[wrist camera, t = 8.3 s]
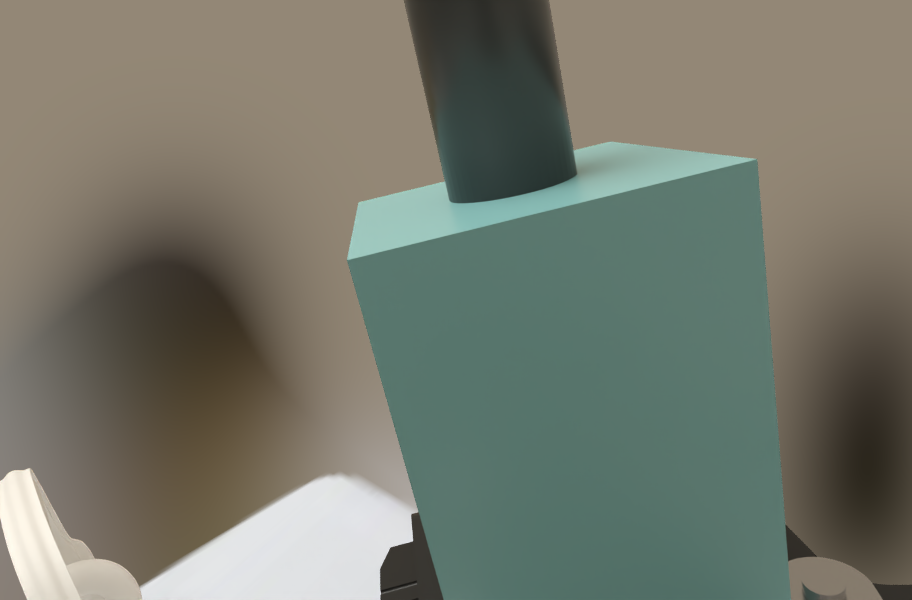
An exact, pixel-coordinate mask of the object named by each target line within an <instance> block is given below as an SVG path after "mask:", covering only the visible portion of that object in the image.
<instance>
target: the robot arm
mask: <svg viewBox="0 0 912 600" xmlns="http://www.w3.org/2000/svg"><path fill="white" fill-rule="evenodd" d="M411 519H412V530H413V542H409V543H406V544H402V545H398V546H395V547H391V548H390V550H389V552H388V554H387V556H386V558H385V560H384V562H383V564H382V566H381V569H380V590H381V600H444V599H443V596H442V592H441V589H440V585H439V582H438V578H437V575H436V571H435V568H434V564H433V561H432V557H431V554H430V550H429V547H428V543H427V539H426V536H425V532H424V529H423V525H422V522H421V518H420V515H419V512H418V513H414V514H412V515H411ZM785 527H786V540H787V553H788V566H789V579H790V592H791V600H912V585H881V584H874V583H871V581H870V580H869V579H868V578H867V577H866V576H864V575H863V574H862V573H861V572H859V571H858V570H856V569H854V568H853V567H851V566H849V565H847V564H844V563H842V562H839V561H836V560H832V559H827V558H822V557H817V556H816V555H815V554H814V553H813V552H812V551H811V550H810V549H809V548H808V547H807V546H806V545H805V544H804V543H803V542H802V541H801V540H800V539H799V538H798V537H797V536H796V535H795V534H794V533H793V532H792V531H791V530H790V529H789V528H788V527H787V526H786V525H785Z"/></svg>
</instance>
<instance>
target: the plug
mask: <svg viewBox="0 0 912 600" xmlns="http://www.w3.org/2000/svg"><path fill="white" fill-rule="evenodd" d="M404 3H405V7H406V12H407V16H408V21H409V25H410V29H411V34H412V38H413V43H414V47H415V52H416V56H417V60H418V65H419V69H420V74H421V78H422V82H423V87H424V91H425V96H426V100H427V104H428V108H429V113H430V118H431V122H432V127H433V131H434V135H435V140H436V144H437V148H438V153H439V157H440V162H441V166H442V171H443V175H444V179H445V182H441V183H437V184H433V185H429V186H425V187H421V188H416V189H412V190H408V191H404V192H400V193H396V194H392V195H387V196H384V197H380V198H376V199H371V200H367V201H363V202H359V204H358V208H357V213H356V218H355V223H354V228H353V234H352V239H351V243H350V248H349V253H348V258H347V261H348V265H349V269H350V272H351V276H352V279H353V283H354V286H355V290H356V293H357V297H358V300H359V304H360V307H361V311H362V314H363V318H364V321H365V325H366V329H367V332H368V336H369V339H370V343H371V346H372V350H373V353H374V357H375V360H376V364H377V367H378V371H379V374H380V378H381V381H382V385H383V388H384V392H385V395H386V399H387V402H388V406H389V409H390V413H391V416H392V420H393V423H394V427H395V430H396V434H397V437H398V441H399V444H400V447H401V451H402V455H403V459H404V462H405V466H406V469H407V473H408V476H409V479H410V483H411V487H412V490H413V494H414V497H415V501H416V504H417V508H418V511H419V515H420V518H421V522H422V525H423V529H424V532H425V536H426V539H427V543H428V547H429V550H430V554H431V557H432V561H433V564H434V568H435V571H436V575H437V578H438V582H439V585H440V589H441V592H442V596H443V599H444V600H791V592H790V579H789V566H788V553H787V540H786V527H785V515H784V501H783V490H782V489H783V488H782V476H781V462H780V451H779V450H780V449H779V436H778V424H777V411H776V397H775V384H774V372H773V358H772V345H771V333H770V320H769V307H768V294H767V280H766V267H765V255H764V243H763V242H764V241H763V229H762V216H761V202H760V191H759V176H758V163H757V159H751V158H742V157H733V156H726V155H718V154H709V153H701V152H693V151H684V150H676V149H668V148H659V147H650V146H643V145H634V144H625V143H617V142H607V143H603V144H599V145H594V146H590V147H586V148H582V149H578V150H573V144H572V138H571V132H570V126H569V120H568V114H567V108H566V101H565V95H564V89H563V83H562V78H561V71H560V64H559V58H558V52H557V46H556V40H555V34H554V28H553V22H552V16H551V10H550V4H549V0H404Z"/></svg>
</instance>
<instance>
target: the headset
mask: <svg viewBox="0 0 912 600" xmlns="http://www.w3.org/2000/svg"><path fill="white" fill-rule="evenodd" d="M0 519H1V523H2V528H3V531H4V535H5V539H6V542H7V546H8V550H9V553H10V556H11V559H12V562H13V565H14V567H15V570H16V573H17V575H18V578H19V581H20V583H21V586H22V588H23V591H24V593H25V596H26V598H27V600H142V595H141V591H140V588H139V586H138V583H137V582H136V580H135V579H134V577H133V576H132V575H131V574H130V573H129V572H128V571H127V570H126V569H125V568H124V567H122V566H120V565H119V564H117V563H114V562H112V561H108V560H103V559H95V558H94V557H93V555H92V553H91V551H90V550H89V548H88V547H87V545H86V544H85V543H84V542H82V541H80V540H77V539H72V538H70V536H69V535H68V534H67V532H66V531H65V529H64V528H63V525H62V524H61V522H60V520H59V518H58V516H57V514H56V513H55V511H54V509H53V507H52V505H51V503H50V501H49V500H48V498H47V496H46V494H45V492H44V490H43V488H42V487H41V485H40V483H39V481H38V479H37V478H36V476H35V474H34V473H33V471H32V469H31V468H29V469H26V470H15V471H11V472H9V473H8V474H7V475H6V476H5V478H4V479H3V480H1V481H0Z"/></svg>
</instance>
